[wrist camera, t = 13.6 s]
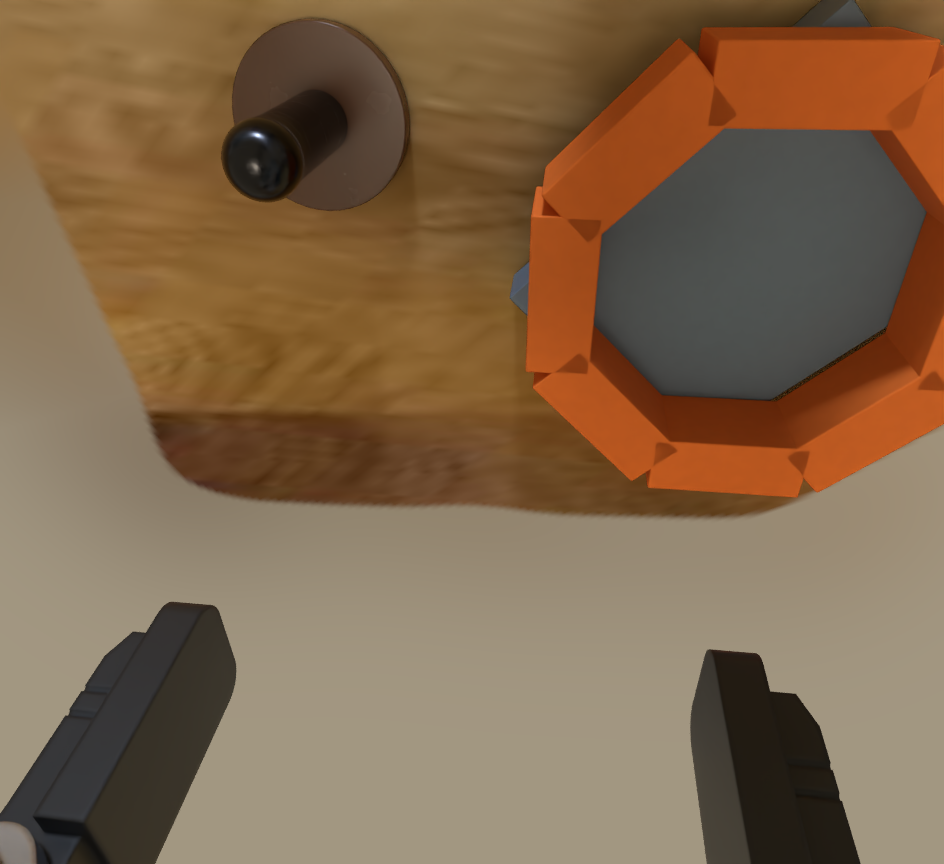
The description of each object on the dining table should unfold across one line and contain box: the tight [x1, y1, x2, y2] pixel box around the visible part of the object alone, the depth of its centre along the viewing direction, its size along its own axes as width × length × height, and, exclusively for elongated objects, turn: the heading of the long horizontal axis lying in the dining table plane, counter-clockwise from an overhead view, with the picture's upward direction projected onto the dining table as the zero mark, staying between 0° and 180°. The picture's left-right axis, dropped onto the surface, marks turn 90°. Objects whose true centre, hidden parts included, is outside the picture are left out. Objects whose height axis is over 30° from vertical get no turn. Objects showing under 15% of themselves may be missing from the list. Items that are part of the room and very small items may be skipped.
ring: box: [526, 27, 944, 497], centre depth 26 cm, size 16×16×4 cm
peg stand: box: [221, 19, 409, 211], centre depth 26 cm, size 7×7×8 cm
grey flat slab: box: [510, 0, 927, 401], centre depth 29 cm, size 15×11×2 cm
